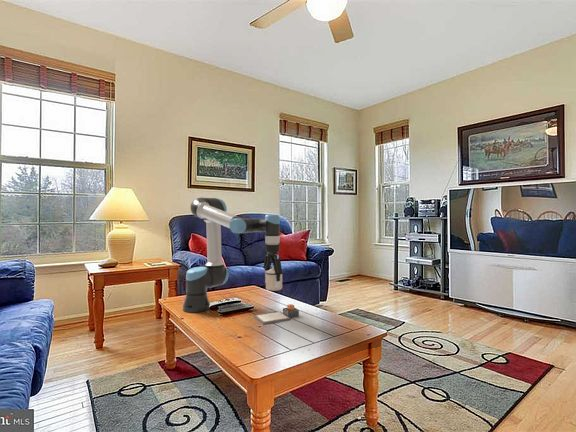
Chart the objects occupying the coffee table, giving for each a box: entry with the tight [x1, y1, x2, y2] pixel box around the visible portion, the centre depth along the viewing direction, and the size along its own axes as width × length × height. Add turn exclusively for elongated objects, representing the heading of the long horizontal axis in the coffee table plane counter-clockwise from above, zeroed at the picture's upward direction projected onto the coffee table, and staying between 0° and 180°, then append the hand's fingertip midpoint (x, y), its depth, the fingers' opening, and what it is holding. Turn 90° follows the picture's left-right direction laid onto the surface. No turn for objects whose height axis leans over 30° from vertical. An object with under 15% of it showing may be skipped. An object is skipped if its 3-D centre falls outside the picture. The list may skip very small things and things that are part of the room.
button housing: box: [282, 306, 300, 319], centre depth 175 cm, size 6×6×4 cm
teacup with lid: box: [264, 266, 284, 292], centre depth 169 cm, size 12×9×12 cm
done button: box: [286, 303, 295, 311], centre depth 175 cm, size 4×4×3 cm
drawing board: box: [253, 311, 292, 325], centre depth 170 cm, size 13×16×1 cm
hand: (272, 284), depth 169 cm, fingers closed on teacup with lid, 12 cm apart
